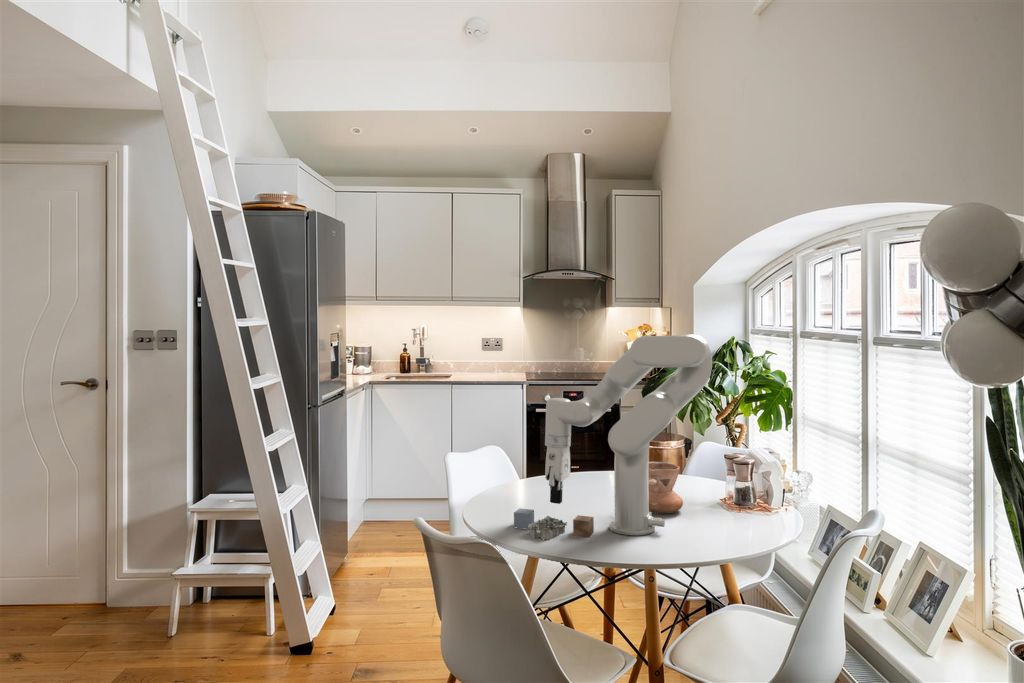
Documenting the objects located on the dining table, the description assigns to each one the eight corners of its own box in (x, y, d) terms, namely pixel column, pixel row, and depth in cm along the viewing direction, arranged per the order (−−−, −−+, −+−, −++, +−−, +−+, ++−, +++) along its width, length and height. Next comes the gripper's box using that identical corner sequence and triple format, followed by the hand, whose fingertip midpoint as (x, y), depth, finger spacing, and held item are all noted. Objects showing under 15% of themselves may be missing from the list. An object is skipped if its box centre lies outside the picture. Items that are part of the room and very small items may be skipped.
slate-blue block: (534, 525, 185) (534, 509, 185) (528, 529, 181) (528, 513, 181) (519, 523, 187) (519, 508, 187) (514, 528, 183) (513, 512, 183)
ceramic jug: (675, 521, 188) (676, 472, 188) (627, 514, 194) (628, 467, 194) (689, 507, 203) (689, 462, 203) (644, 501, 210) (644, 458, 210)
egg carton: (547, 542, 171) (547, 527, 171) (525, 537, 175) (525, 522, 175) (569, 532, 179) (569, 517, 179) (548, 527, 184) (548, 513, 184)
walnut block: (593, 532, 178) (593, 516, 177) (589, 537, 173) (589, 521, 173) (578, 531, 179) (577, 515, 179) (573, 536, 175) (573, 519, 175)
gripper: (562, 445, 179) (560, 511, 179) (577, 437, 193) (575, 498, 193) (537, 443, 182) (535, 507, 182) (554, 435, 196) (552, 494, 196)
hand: (556, 502), depth 188 cm, fingers closed
